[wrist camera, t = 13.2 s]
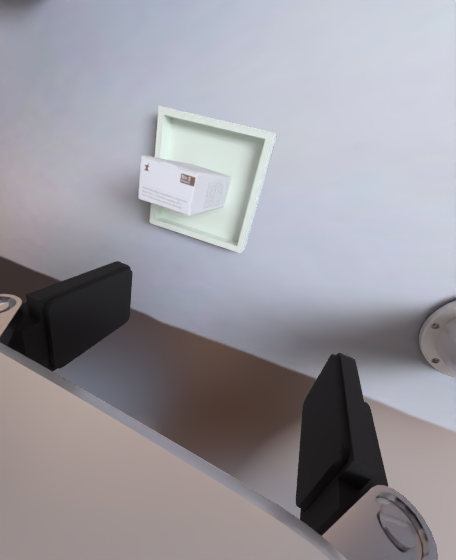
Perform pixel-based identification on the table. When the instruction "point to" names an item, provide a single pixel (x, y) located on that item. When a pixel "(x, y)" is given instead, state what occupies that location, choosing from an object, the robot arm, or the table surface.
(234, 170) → the sage tray
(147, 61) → the table surface
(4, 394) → the robot arm
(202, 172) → the skincare box
